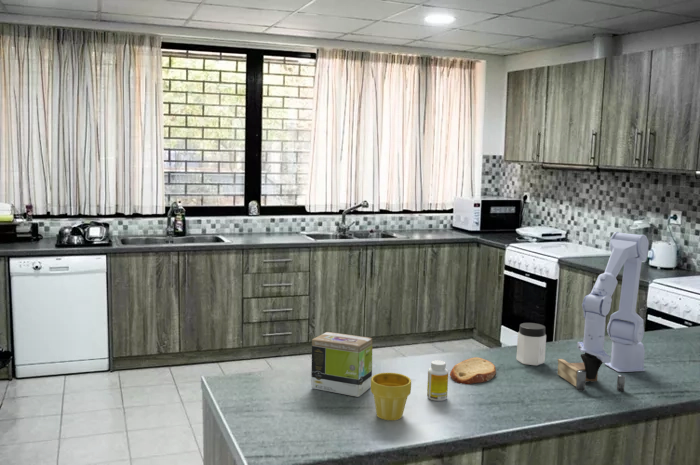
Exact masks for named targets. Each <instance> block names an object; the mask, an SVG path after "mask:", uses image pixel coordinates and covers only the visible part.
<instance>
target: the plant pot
mask: <svg viewBox="0 0 700 465" xmlns="http://www.w3.org/2000/svg"><path fill="white" fill-rule="evenodd" d="M411 391H412V379H411V378H410V377H409V376H407V375H405V374H402V373H398V372H380V373H375V374H374V375H373V376H372V378H371V387H370V392H371V393H372V395H373V399H374V406H375V412H376V413H375V414H376V416H377V417H378V418H379V419H381V420H384V421H397V420H400V419H402V418H403V414H404V411H405V408H406V403H407V400H408V397H409V396H410V395H411Z"/></svg>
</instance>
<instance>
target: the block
mask: <svg viewBox="0 0 700 465" xmlns="http://www.w3.org/2000/svg"><path fill="white" fill-rule="evenodd" d="M569 363H570V364H571V365H573V366H575V367H576V368H578V369H579V370H584V371H586V370H585V366H584V363H583V362H569ZM598 374H599V372H598V373H597V375H596V378H595V379H588V378H587V376H586V380H585V383H587V382H588V381H591V382H597V381H598V376H599V375H598ZM586 381H587V382H586ZM588 383H589V382H588Z"/></svg>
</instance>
